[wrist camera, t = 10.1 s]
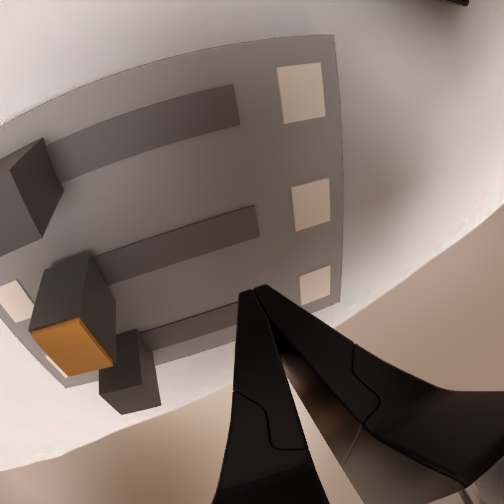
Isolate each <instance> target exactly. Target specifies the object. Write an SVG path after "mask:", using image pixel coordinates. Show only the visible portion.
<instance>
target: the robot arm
mask: <svg viewBox="0 0 504 504" xmlns="http://www.w3.org/2000/svg"><path fill="white" fill-rule="evenodd" d="M441 1H445V2H448V3H452V4H455V5H459V6H467V5H468V4H469V0H441ZM285 373H286V374H285ZM286 375H287V377H288V379H289V380H290V382H291V384H292V385H293V387H294V389H295V391H296V392H297V394H298V396H299V397H300V399H301V401H302V402H303V404H304V406H305V408H306V409H307V411H308V413H309V414H310V416H311V418H312V419H313V421H314V423H315V424H316V426H317V428H318V429H319V431H320V433H321V434H322V436H323V438H324V439H325V441H326V443H327V444H328V446H329V448H330V449H331V451H332V452H333V454H334V456H335V457H336V459H337V461H338V462H339V464H340V466H341V467H343V468H342V469H343V471H344V472H345V474H346V475H347V477H348V478H349V480H350V482H351V483H352V485H353V487H354V488H355V490H356V491H357V493H358V494H359V496H360V498H361V499H362V501H363V502H364V504H504V391H454V390H447V389H443V388H440V387H437V386H435V385H433V384H431V383H428V382H426V381H424V380H422V379H420V378H418V377H415V376H414V375H411V374H409V373H407V372H405V371H403V370H400V369H399V368H397V367H395V366H393V365H391V364H389V363H387V362H385V361H383V360H382V359H380V358H378V357H377V356H375V355H373V354H372V353H370V352H368V351H366V350H365V349H364V348H362V347H360V346H359V345H358V344H354V342H353V341H351V340H350V339H348V338H347V337H345V336H344V335H342V334H341V333H339V332H338V331H336V330H335V329H333V328H332V327H330V326H329V325H327V324H326V323H324V322H323V321H321V320H320V319H318V318H317V317H315V316H314V315H312V314H311V313H309V312H308V311H306V310H305V309H303V308H302V307H300V306H299V305H297V304H296V303H294V302H293V301H291V300H290V299H288V298H287V297H285V296H284V295H282V294H281V293H279V292H278V291H276V290H275V289H273V288H272V287H270V286H269V285H267V284H263V285H260V286H257V287H255V288H254V289H253V290H252V289H248V290H245V291H243V292H240V293H239V295H238V309H237V326H236V343H235V361H234V380H233V396H232V410H231V421H230V427H229V433H228V439H227V444H226V449H225V453H224V458H223V463H222V468H221V472H220V477H219V481H218V485H217V489H216V492H215V495H214V498H213V501H212V503H211V504H330V503H329V501H328V498H327V496H326V494H325V491H324V489H323V486H322V484H321V481H320V479H319V477H318V474H317V472H316V469H315V466H314V463H313V460H312V457H311V454H310V451H309V450H308V445H307V442H306V438H305V435H304V432H303V429H302V426H301V423H300V419H299V416H298V412H297V409H296V406H295V403H294V399H293V396H292V393H291V390H290V387H289V384H288V380H287V377H286Z"/></svg>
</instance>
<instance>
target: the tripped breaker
mask: <svg viewBox="0 0 504 504" xmlns="http://www.w3.org/2000/svg"><path fill="white" fill-rule="evenodd" d="M28 331H29V332H30V333H31V334H32V335H31V337H32V338H33V339H34V341H35V342H36V343H37V344H38V345H39V346H40V347H41V348H42V350H43V351H44V352H45V353H46V354H47V355H48V356H49V357H50V358H51V359H52V360H53V361H54V363H55V364H56V365H57V366H58V367H59V368H60V369H61V370H62V371H63V372H64V373H65V374H66V375H67V376H68V377H71V376H76V375H80V374H84V373H88V372H92V371H96V370H100V369H103V368H107V367H111V366H113V363H115V362H117V351H116V300H115V298H114V297H113V295H112V293H111V291H110V290H109V288H108V286H107V284H106V283H105V281H104V279H103V277H102V276H101V274H100V272H99V270H98V268H97V267H96V265H95V263H94V261H93V259H92V257H91V255H90V253H88V254H85V255H82V256H80V257H77V258H74V259H71V260H69V261H66V262H63V263H61V264H58V265H55V266H53V267H50V268H48V269H45V270H44V273H43V276H42V279H41V282H40V286H39V289H38V293H37V297H36V300H35V304H34V308H33V312H32V316H31V320H30V324H29V328H28Z"/></svg>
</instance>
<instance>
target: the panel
mask: <svg viewBox="0 0 504 504" xmlns="http://www.w3.org/2000/svg"><path fill="white" fill-rule="evenodd" d="M342 248H343V156H342V131H341V112H340V97H339V84H338V72H337V62H336V52H335V43H334V35H311V36H296V37H284V38H274V39H266V40H258V41H250V42H244V43H237V44H231V45H225V46H220V47H215V48H210V49H205V50H200V51H195V52H191V53H187V54H183V55H178V56H174V57H171V58H167V59H163V60H159V61H156V62H152V63H149V64H145V65H142V66H139V67H136V68H132V69H129V70H126V71H123V72H120V73H117V74H115V75H112V76H109V77H106V78H103V79H101V80H98V81H95V82H93V83H90V84H88V85H85V86H83V87H80V88H78V89H75V90H73V91H71V92H68V93H66V94H64V95H62V96H59V97H57V98H55V99H53V100H51V101H49V102H46V103H44V104H42V105H40V106H38V107H36V108H34V109H32V110H30V111H28V112H26V113H24V114H23V115H21V116H19V117H17V118H15V119H13V120H11V121H10V122H8V123H6V124H4V125H3V126H1V127H0V318H1V319H2V321H3V322H4V323H5V324H6V325H7V327H8V328H9V329H10V330H11V331H12V333H13V334H14V335H15V336H16V337H17V338H18V340H19V341H20V342H21V343H22V344H23V345H24V346H25V347H26V348H27V350H28V351H29V352H30V353H31V354H32V355H33V356H34V357H35V358H36V359H37V360H38V361H39V362H40V363H41V364H42V365H43V366H44V367H45V368H46V369H47V370H48V371H49V372H50V373H51V374H52V375H53V376H54V377H55V378H56V379H57V380H58V381H59V382H60V383H61V384H62V385H63V386H64V387H65V388H69V387H73V386H78V385H82V384H86V383H90V382H95V381H99V395H100V396H101V397H102V398H103V399H104V400H106V401H107V402H108V403H109V404H110V405H111V406H112V407H113V408H114V409H115V410H117V411H118V412H119V413H120V414H121V415H123V414H128V413H132V412H136V411H141V410H145V409H149V408H153V407H157V406H161V400H160V395H159V389H158V383H157V376H156V370H155V365H159V364H162V363H166V362H169V361H173V360H176V359H179V358H183V357H186V356H189V355H192V354H196V353H199V352H202V351H205V350H208V349H211V348H215V347H218V346H221V345H224V344H227V343H230V342H233V341H236V326H237V309H238V295H239V293H240V292H243V291H245V290H248V289H252V290H253V289H254V288H255V287H257V286H260V285H263V284H267V285H269V286H270V287H272V288H273V289H275V290H276V291H278V292H279V293H281V294H282V295H284V296H285V297H287V298H288V299H290V300H291V301H293V302H294V303H296V304H297V305H299V306H300V307H302V308H303V309H305V310H306V311H308V312H309V313H313V312H315V311H318V310H320V309H323V308H326V307H328V306H331V305H333V304H335V303H338V302H340V294H341V274H342ZM88 253H90V255H91V257H92V259H93V261H94V263H95V265H96V267H97V268H98V270H99V272H100V274H101V276H102V277H103V279H104V281H105V283H106V284H107V286H108V288H109V290H110V291H111V293H112V295H113V297H114V298H115V300H116V351H117V362H115V363H113V366H111V367H107V368H103V369H100V370H96V371H92V372H88V373H84V374H80V375H76V376H71V377H68V376H67V375H66V374H65V373H64V372H63V371H62V370H61V369H60V368H59V367H58V366H57V365H56V364H55V363H54V361H53V360H52V359H51V358H50V357H49V356H48V355H47V354H46V353H45V352H44V351H43V350H42V348H41V347H40V346H39V345H38V344H37V343H36V342H35V341H34V339H33V338H32V337H31V335H32V334H31V333H30V332H29V331H28V328H29V324H30V320H31V316H32V312H33V308H34V304H35V300H36V297H37V293H38V289H39V286H40V282H41V279H42V276H43V273H44V270H45V269H48V268H50V267H53V266H55V265H58V264H61V263H63V262H66V261H69V260H71V259H74V258H77V257H80V256H82V255H85V254H88Z"/></svg>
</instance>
